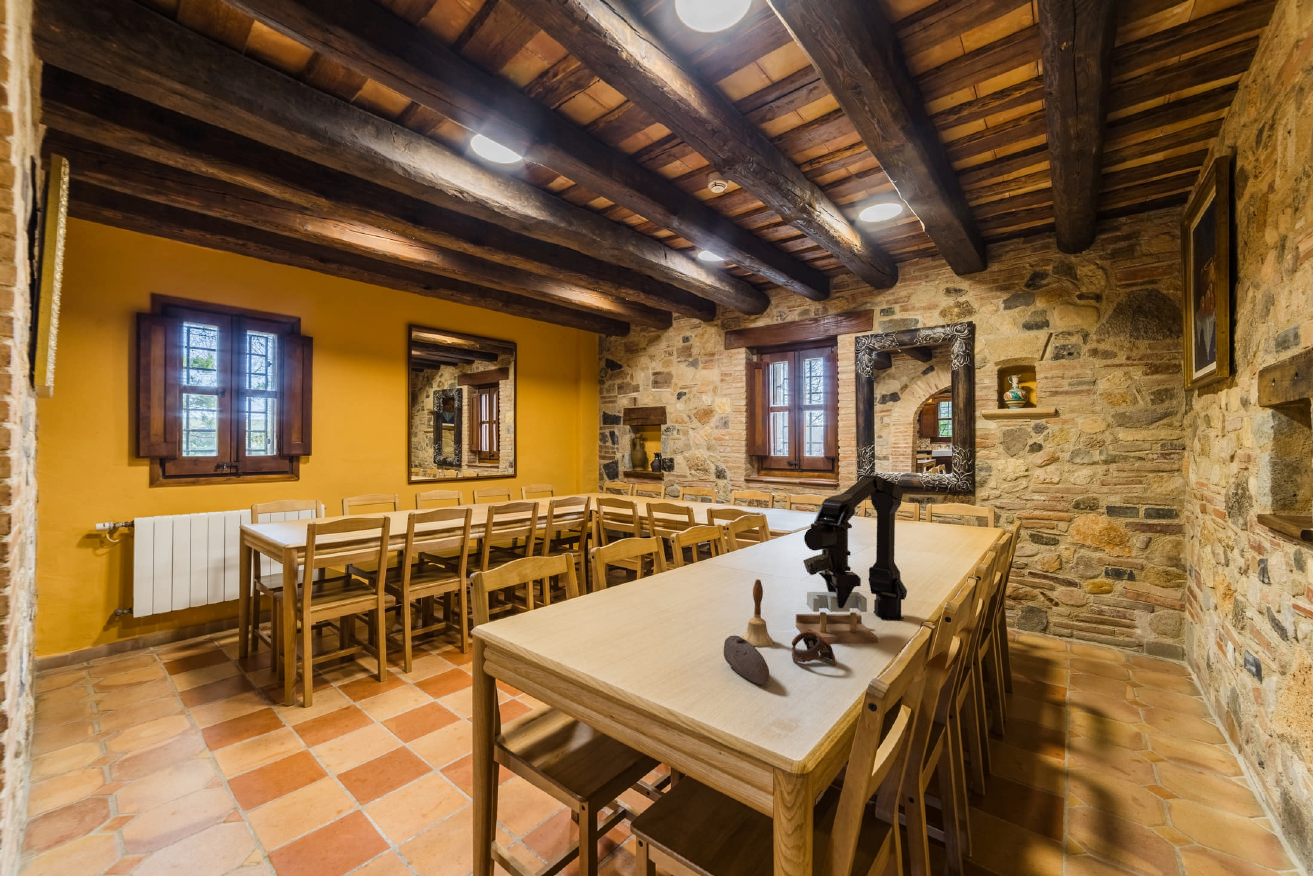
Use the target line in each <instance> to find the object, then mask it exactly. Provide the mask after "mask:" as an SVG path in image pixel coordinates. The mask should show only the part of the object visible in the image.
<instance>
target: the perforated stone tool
mask: <svg viewBox="0 0 1313 876" xmlns="http://www.w3.org/2000/svg"><path fill="white" fill-rule="evenodd" d="M741 637H742V636H740V635H729V636H728V637H727V638H725V640H724V642H723V643H724V644H723V657H724V659H725V661H726V663H727V664H728V665H729V666H730V667H731V668H732V669H733V671H734V672H736V673H738V674H739V675H740V676H742V677H743V678H745V679H747V680H748V681H750V682H751V683H754V684H757V685H760V686H764V685H766V684H768V682H769V681H770V677H771V675H770V674H771V673H770V668H769V666H768V664H767V661H766V660H765V658H764V656H763V655H762V654H761V652H760V651H759V650H758V649H757V647H754V646H753V645H752V644H751V643H749V642H748V641H746V640H745V639H743V638H741Z"/></svg>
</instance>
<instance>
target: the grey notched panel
mask: <svg viewBox="0 0 1313 876" xmlns="http://www.w3.org/2000/svg"><path fill="white" fill-rule="evenodd" d="M806 606H807V607H808V608H809V609H811V611H812V612H815V613H817V612H818V613H820V609H827V610H828V611H829V612H830V613H833V612H834V613H838V612H839V613H840V612H841V613H851V612H850V609H857V610H859V611H860V613H866V612H868V611H867V610H868V609H867V607H868V598H867V597H866V596H864V595H863V594H862V593H860V592H859V591H852V592H851V594H850V596H849V597H848V599H847V601H846V603H845V605H844V607H843V608H839V607H838V602H837V595H836V592H828V591H807V592H806Z"/></svg>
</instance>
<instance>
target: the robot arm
mask: <svg viewBox="0 0 1313 876" xmlns="http://www.w3.org/2000/svg"><path fill="white" fill-rule="evenodd" d="M903 495H904V493H903V488H902V487H900V484H898V483H896V482H893V481H890V480H887V479H884V477H882V476H880V475H877V474H876V475H874V474H873V475H872V474H865V475H862V477H861V478H860V479H859V480H858V481H857V482H856V483H854V484H853V485H852V486H850V487H849V488H848V489H846V490H845V491H844V492H842V493H840V494H835V495H831V496H829V497H827V498H824V500H823V501H822V502H821V505H820V508H819V509H818V512H817V514H816V517H815V519H814V522H812V523H811V524H810V528H808V529H807V530H806V531H805V533H804V536H803V538H804V539H803V540H804V542H805V545H806V547H807V548H808V549H809V550H811V551H815V552H816V551H820V550H821V553H820V554H817V555H814V556H811V557H808V558H806V559H804V560H803V564H804V568H805V570H806V572H807V573H808V574H809V575H810V576H813V575H816V574H817V573H818V574H819V576H821V577H822V578H823V580H824V581H825V584H826V589H827V592H836V595H837V602H838V607H839V608H843V607H844V605H845V603H846V601H847V599H848V597H849V596H850V594H851V592H853V590H854V589H855V588H856V587H861V586H862V578H861V577H860V576H859V574H857V573H855V572H853V571H851V569H852V568H851V566H849V556H851V551H850V550H849V529H852V528H853V525H852V523H850V522H849V521H850V520H851V519H852V517H853V516H854V515H855V513H856V508H857V507H858V506H859V505H860V504H861V503H862V502H864V501H866V499H867V498H869V496H870V502H871V505H872V506H873V508H874V510H875V511H876V547H875V548H876V550H875V551H876V552H875V553H876V555H875V556H876V559H875V563H874V564H873V565H872V566H870V567H869V569H868V584H869V589H870V592H871V594H872V595H875V599H874V601H873V602H874V604H873V605H874V606H873V607H874V608H873V609H874V610H873V614H874V615H875V616H877V617H878V618H880V619H881V620H883V621H884V620H887V621H888V620H889V621H890V620H891V619H893V621H894V619H895V620H897V619H904V620H905V618H904V617H903V615H902V601H903V600H906V599H907V595H908V589H907V588H906V587H905V585H904V583H903V581H902V579H901V571H900V570H899V567H898V565H896V562H895V545H896V544H895V539H896V538H895V535H896V530H895V529H896V527H895V526H896V513H897V511H898V510H899V508H900V507H901V505H902V499H903Z"/></svg>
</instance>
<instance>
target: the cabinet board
mask: <svg viewBox="0 0 1313 876" xmlns="http://www.w3.org/2000/svg"><path fill="white" fill-rule="evenodd" d="M862 618H863V617H862V615H861V614H859V613H858V614H857V612H853V611H851V612H849V614H848V613H845V614H843V613H842V614H834V613H833V614H831V613H827V612H824V611H819V614H818V613H814V614H813V613H796V614H795V628H796V629H797V630H798V631H800V632H799V634H800V633H802V632H805V631H807V630H812V631H815V632H816V633H818V634H819V635H820V636H822V637H823V638H825V639H826V640H827V641H828V642H829V643H830V644H831V643H833V644H855V643H856V644H878V643H879V637H878V635H876V634H875V633H874V632H872V630H870V629H869V628H868V627H867V626H865V624H863V623H862ZM816 640H818V638H816Z"/></svg>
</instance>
